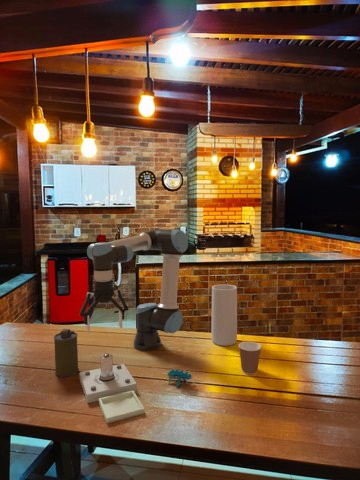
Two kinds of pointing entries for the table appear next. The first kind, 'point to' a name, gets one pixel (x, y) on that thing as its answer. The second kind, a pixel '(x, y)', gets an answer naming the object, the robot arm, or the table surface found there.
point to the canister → (66, 353)
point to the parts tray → (120, 406)
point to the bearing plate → (106, 383)
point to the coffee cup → (249, 356)
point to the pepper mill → (106, 368)
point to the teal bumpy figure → (178, 376)
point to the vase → (224, 314)
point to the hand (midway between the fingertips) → (104, 329)
